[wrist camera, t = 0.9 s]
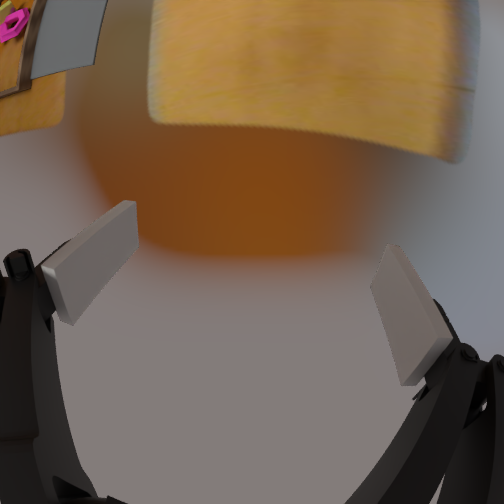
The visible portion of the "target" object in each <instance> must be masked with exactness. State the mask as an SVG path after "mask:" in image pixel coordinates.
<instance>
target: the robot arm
mask: <svg viewBox="0 0 504 504" xmlns="http://www.w3.org/2000/svg"><path fill="white" fill-rule="evenodd" d="M136 213H137V212H136V202H135V201H126V200H124V201H122V202H121V203H119V204H118V205H117V206H115V207H114V208H112V209H111V210H109V211H108V212H107V213H105V214H104V215H103V216H101V217H100V218H98V219H97V220H96V221H94V222H93V223H92V224H90V225H89V226H88V227H87V228H85V229H84V230H83V231H81V232H80V233H79V234H77V235H76V236H75V237H74V238H72V239H70V240H68V241H66V242H64V243H63V244H62V245H61V246H59V247H58V249H56V250H55V251H53V252H52V254H50V255H49V256H48V257H46V258H45V259H44V260H43V261H42V262H41V263H39V264H38V265H37V266H36V267H35V268H34V264H33V261H32V258H31V254H30V251H29V250H28V249H18V250H15V251H13V252H11V253H9V254H8V255H7V256H6V257H5V259H4V260H3V262H4V265H5V268H6V271H7V274H8V277H3V276H2V273H1V270H0V501H1V504H127V503H125V502H122V501H120V500H117V499H115V498H113V497H110V496H107V498H99V497H98V496H97V493H96V491H95V489H94V487H93V484H92V482H91V481H90V479H89V477H88V476H87V475H86V473H85V472H84V470H83V469H82V467H81V465H80V462H79V459H78V456H77V453H76V450H75V446H74V443H73V439H72V436H71V432H70V428H69V424H68V420H67V416H66V411H65V407H64V401H63V397H62V391H61V385H60V379H59V372H58V364H57V355H56V346H55V333H54V320H53V317H52V314H53V313H54V312H55V310H56V311H57V314H58V316H59V319H60V321H62V322H65V323H67V324H70V325H72V326H73V325H74V324H75V323H76V321H77V320H78V319H79V317H80V316H81V315H82V314H83V312H84V311H85V310H86V309H87V307H88V306H89V305H90V304H91V302H92V301H93V300H94V299H95V297H96V296H97V295H98V294H99V292H100V291H101V290H102V289H103V287H104V286H105V285H106V284H107V283H108V282H109V280H110V279H111V278H112V277H113V276H114V275H115V273H116V272H117V271H118V270H119V269H120V268H121V267H122V265H123V264H124V263H125V262H126V261H127V260H128V259H129V258H130V257H131V255H132V254H133V253H134V252H135V251H136V250H137V249H138V248H139V243H138V230H137V214H136ZM370 288H371V290H372V294H373V296H374V299H375V302H376V305H377V308H378V310H379V313H380V316H381V319H382V322H383V325H384V329H385V331H386V334H387V338H388V341H389V345H390V348H391V351H392V354H393V358H394V361H395V365H396V369H397V372H398V376H399V380H400V383H401V386H415V385H417V384H418V383H419V382H420V380H421V379H422V378H423V377H425V381H426V384H425V385H424V387H423V388H422V389H421V390H420V391H419V392H418V393H417V394H416V395H415V396H414V398H413V400H415V399H416V398H417V399H416V401H415V403H414V405H413V407H412V408H411V410H410V412H409V414H408V416H407V417H406V419H405V421H404V423H403V424H402V426H401V428H400V429H399V431H398V432H397V434H396V436H395V437H394V439H393V440H392V442H391V444H390V445H389V447H388V448H387V450H386V451H385V453H384V454H383V456H382V457H381V458H380V460H379V461H378V463H377V464H376V465H375V467H374V468H373V469H372V471H371V472H370V473H369V475H368V476H367V477H366V479H365V480H364V481H363V482H362V484H361V485H360V486H359V487H358V489H357V490H356V491H355V492H354V493H353V494H352V496H351V497H350V498H349V499H348V500H347V501H346V503H345V504H429V503H430V501H431V499H432V498H433V496H434V494H435V492H436V490H437V488H438V486H439V484H440V482H441V480H442V478H443V476H444V474H445V476H444V480H443V484H442V488H441V491H440V495H439V498H438V501H437V504H504V357H503V356H501V355H498V354H497V355H494V356H493V358H492V359H491V360H490V361H489V362H485V361H482V360H480V358H479V356H478V354H477V352H476V351H475V349H474V348H472V347H471V346H470V345H468V344H466V343H461V342H460V340H459V338H458V336H457V334H456V332H455V330H454V328H453V326H452V325H451V323H450V322H449V319H448V317H447V316H446V314H445V312H444V310H443V308H442V306H441V305H440V304H439V303H438V302H437V301H436V300H435V299H432V297H431V296H430V294H429V292H428V290H427V289H426V287H425V285H424V284H423V282H422V280H421V279H420V277H419V275H418V274H417V272H416V271H415V269H414V268H413V266H412V264H411V263H410V261H409V260H408V258H407V257H406V255H405V254H404V252H403V251H402V249H401V248H400V246H397V245H392V244H387V245H386V248H385V251H384V253H383V256H382V258H381V261H380V264H379V266H378V269H377V271H376V274H375V276H374V279H373V281H372V283H371V286H370ZM486 402H487V405H486V408H485V410H483V411H482V406H483V405H484V404H485V403H486Z"/></svg>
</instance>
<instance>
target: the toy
mask: <svg viewBox="0 0 504 504" xmlns="http://www.w3.org/2000/svg"><path fill="white" fill-rule="evenodd" d="M29 16H30V14H29V11H28V9H27V8H23V9H20V10H18V11H17V9H16V8H15V7H14V5H13V4H12V3H11V2H10V1H7V2H6V3H5V4H4V5H2V6H1V7H0V39H1V43H2V42H4V41H7V40H9V39H11V38H13V37H15V36H17V35H19V34H20V32H21V31H22V30H23V28H24V27H25V25H26V24H27V23H28V20H29ZM17 20H19V21H18V22H17V24H16V25H15V26H14V27H13V28H11V26H12V24H13V22H15V21H17Z"/></svg>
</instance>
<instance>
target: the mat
mask: <svg viewBox="0 0 504 504" xmlns="http://www.w3.org/2000/svg"><path fill="white" fill-rule="evenodd" d="M107 2H108V0H47V2H46V5H45V9H44V12H43V16H42V19H41V23H40V27H39V32H38V36H37V41H36V46H35V51H34V57H33V63H32V70H31V78H30V80H31V79H35V78H38V77H42V76H45V75H49V74H53V73H57V72H61V71H65V70H69V69H74V68H78V67H84V66H89V65H94V63H95V57H96V50H97V45H98V40H99V35H100V30H101V26H102V22H103V17H104V13H105V9H106V6H107Z"/></svg>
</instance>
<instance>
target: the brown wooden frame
mask: <svg viewBox="0 0 504 504" xmlns="http://www.w3.org/2000/svg"><path fill="white" fill-rule="evenodd" d="M2 1H3V0H0V5H1V2H2ZM46 2H47V0H34V3H33V6H32V9H31V13H30V16H29V20H28V24H27V28H26V32H25V36H24V41H23V46H22V51H21V57H20V63H19V70H18V78H17V86H15V87H13V88H10V89H7V90H4V91H2V92H0V98H2V97H5V96H8V95H11V94H14V93H17V92H21V91H24V90H27V89H31V81H32V79H31V80H30V78H31V70H32V63H33V57H34V51H35V46H36V41H37V36H38V32H39V27H40V23H41V19H42V16H43V12H44V9H45V5H46Z"/></svg>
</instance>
